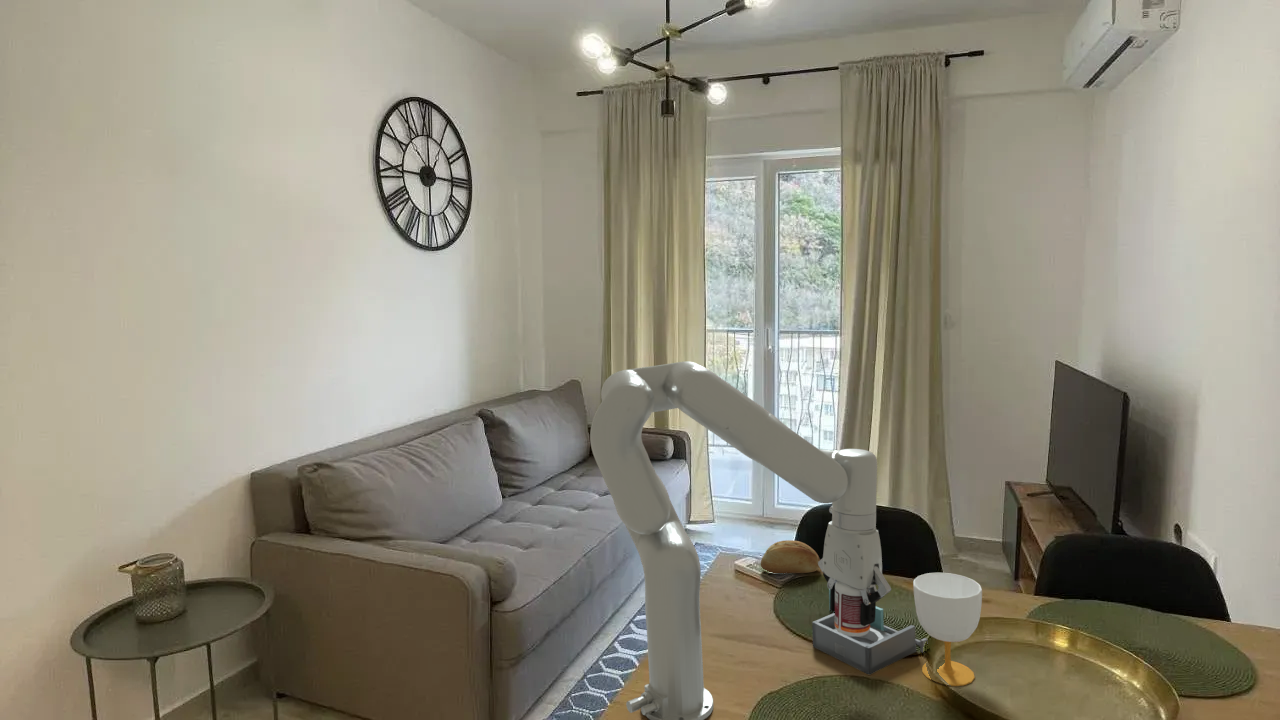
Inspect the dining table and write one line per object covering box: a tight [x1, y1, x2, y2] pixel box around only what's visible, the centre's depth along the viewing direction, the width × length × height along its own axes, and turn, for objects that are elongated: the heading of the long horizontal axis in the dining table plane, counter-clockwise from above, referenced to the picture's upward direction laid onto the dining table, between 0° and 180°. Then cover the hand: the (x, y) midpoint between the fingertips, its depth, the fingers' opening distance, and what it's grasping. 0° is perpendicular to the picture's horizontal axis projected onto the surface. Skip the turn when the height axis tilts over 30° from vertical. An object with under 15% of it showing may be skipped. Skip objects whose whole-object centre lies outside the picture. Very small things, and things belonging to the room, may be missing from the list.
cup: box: [912, 572, 983, 687], centre depth 136 cm, size 12×12×17 cm
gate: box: [828, 588, 885, 632], centre depth 159 cm, size 1×14×6 cm, turn 34°
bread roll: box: [760, 539, 821, 574], centre depth 187 cm, size 10×15×8 cm, turn 87°
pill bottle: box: [835, 581, 871, 637], centre depth 133 cm, size 6×6×11 cm
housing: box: [811, 612, 928, 676], centre depth 148 cm, size 17×16×5 cm
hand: (852, 615), depth 133 cm, fingers closed on pill bottle, 6 cm apart
